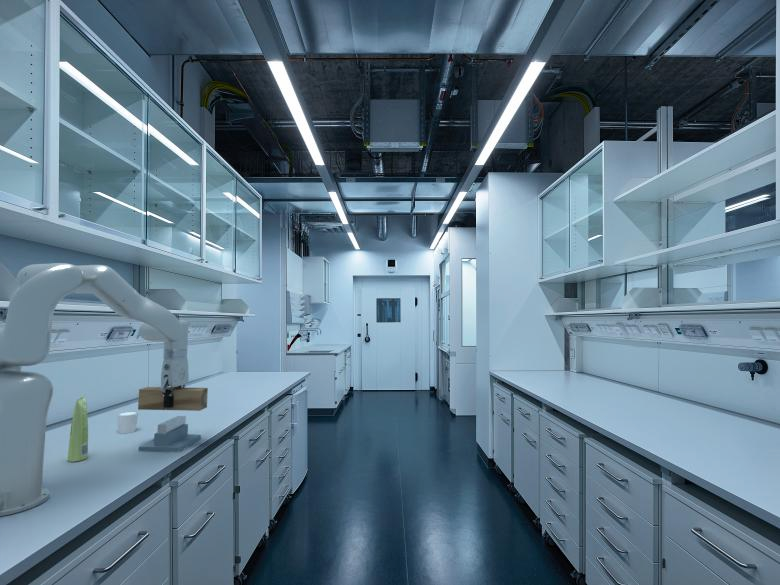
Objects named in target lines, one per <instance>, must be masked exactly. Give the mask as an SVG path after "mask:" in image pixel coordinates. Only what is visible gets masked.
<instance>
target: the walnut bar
mask: <svg viewBox="0 0 780 585" xmlns="http://www.w3.org/2000/svg"><path fill="white" fill-rule="evenodd" d="M160 387H161V386H146V387H143V388H139V389H138V402H137V410H138V411H139V410H140V411H141V410H142V411H143V410H144V411H145V410H147V411H187V412H189V411H192V412H193V411H194V412H195V411H196V412H200V411H202V410H204V409H206V408H208V391H209V390H208V387H188V386H187V387H186V386H185V387H175V388H174V390H173V395H172V396H174V401H173V407H172V408H164V407H163V404H164V396H163V393H162V391H161V390H160ZM168 390H169V391H170V389H168Z"/></svg>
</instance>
